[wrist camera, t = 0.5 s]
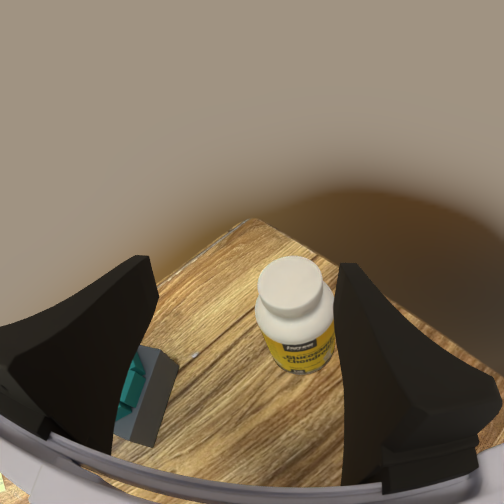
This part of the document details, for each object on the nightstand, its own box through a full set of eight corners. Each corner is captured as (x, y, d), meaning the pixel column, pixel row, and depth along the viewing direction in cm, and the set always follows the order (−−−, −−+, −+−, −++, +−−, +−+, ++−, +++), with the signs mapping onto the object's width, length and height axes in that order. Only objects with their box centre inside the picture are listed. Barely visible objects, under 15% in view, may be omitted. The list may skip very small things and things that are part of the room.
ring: (126, 435, 22) (114, 431, 21) (66, 405, 25) (54, 399, 23) (156, 352, 28) (146, 343, 26) (94, 336, 31) (84, 328, 29)
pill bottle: (275, 381, 28) (245, 328, 19) (269, 326, 32) (242, 255, 24) (340, 369, 27) (344, 309, 19) (328, 314, 31) (323, 239, 23)
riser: (153, 448, 25) (128, 441, 22) (88, 418, 28) (63, 407, 25) (179, 366, 31) (160, 349, 28) (114, 350, 34) (93, 333, 31)
